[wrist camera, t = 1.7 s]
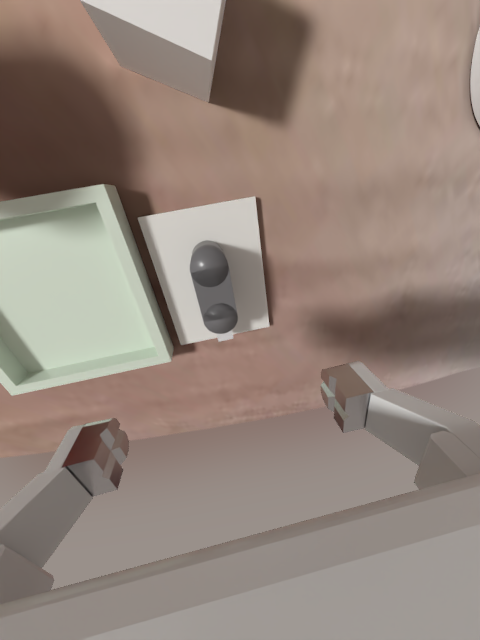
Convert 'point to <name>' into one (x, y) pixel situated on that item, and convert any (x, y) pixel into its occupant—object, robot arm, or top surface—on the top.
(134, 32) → the white cube
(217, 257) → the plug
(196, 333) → the mat
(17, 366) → the tray
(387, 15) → the top surface
